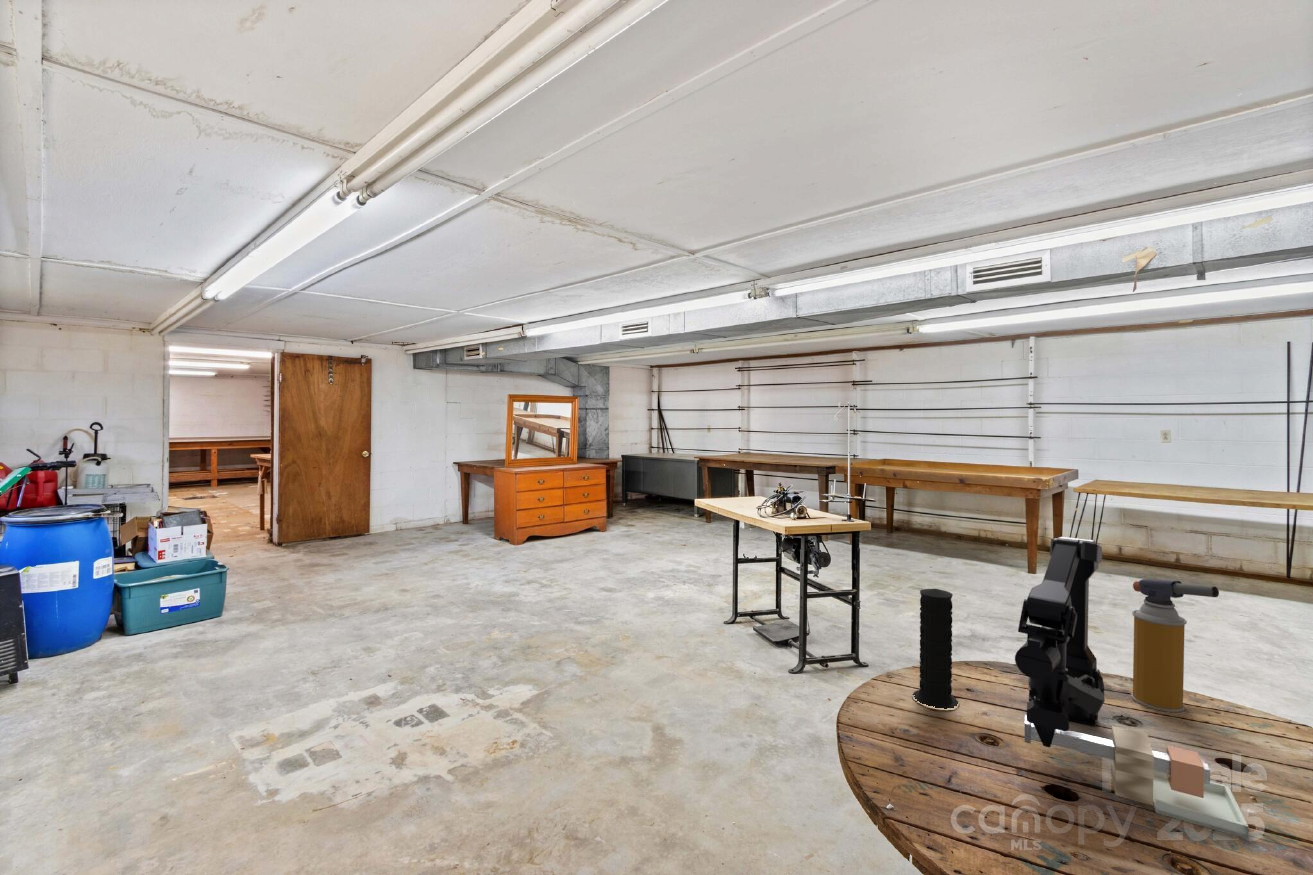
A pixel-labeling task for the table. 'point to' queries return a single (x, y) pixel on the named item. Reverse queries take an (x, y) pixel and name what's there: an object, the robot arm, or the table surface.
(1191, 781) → the collar
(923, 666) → the handle grip
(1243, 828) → the tray
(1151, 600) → the blowtorch
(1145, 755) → the pillow block
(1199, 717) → the table surface
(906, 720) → the table surface
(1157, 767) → the shaft
